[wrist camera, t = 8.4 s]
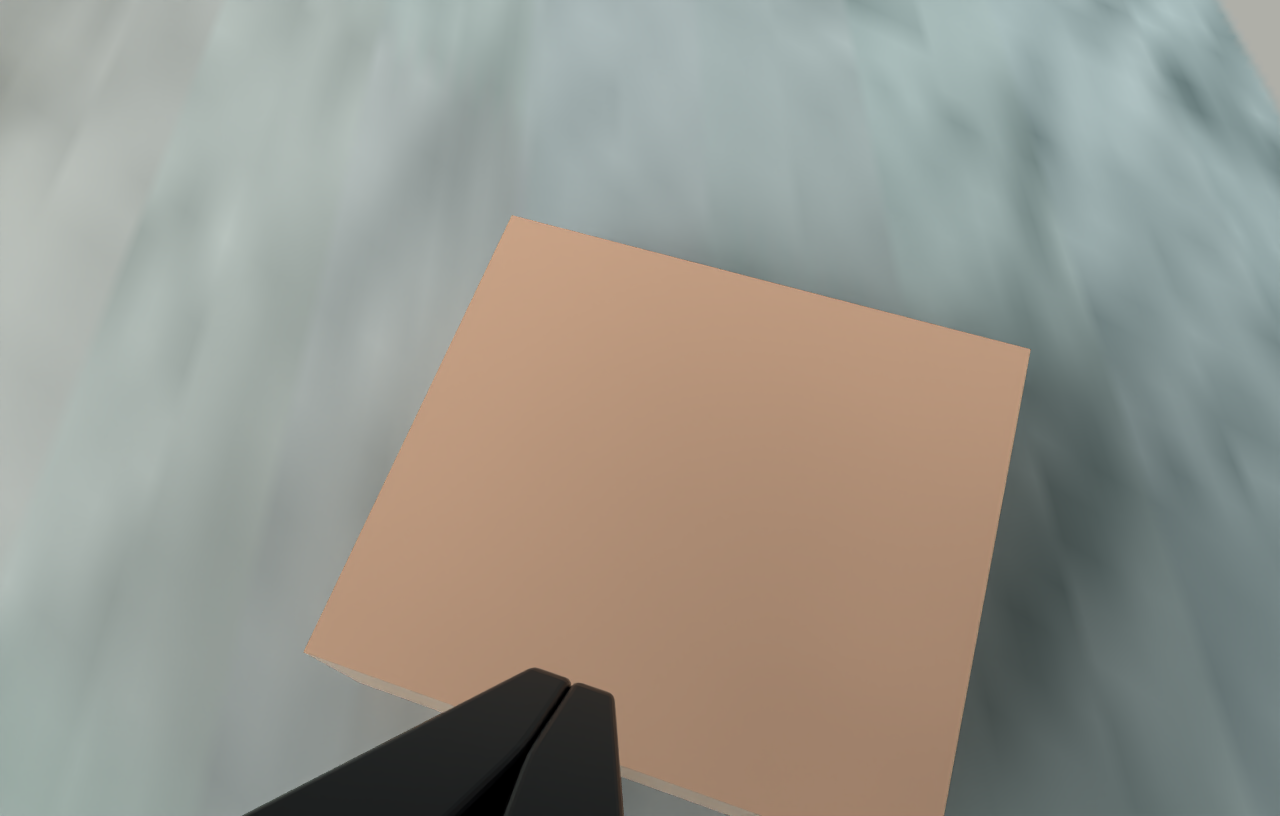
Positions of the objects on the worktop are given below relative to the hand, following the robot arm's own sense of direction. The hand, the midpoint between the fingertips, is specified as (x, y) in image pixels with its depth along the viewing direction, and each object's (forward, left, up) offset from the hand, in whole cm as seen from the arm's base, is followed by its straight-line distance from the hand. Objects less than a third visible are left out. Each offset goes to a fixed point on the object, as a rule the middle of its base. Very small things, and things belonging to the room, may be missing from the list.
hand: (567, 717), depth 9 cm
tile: (0, 0, -6) cm, 6 cm away
